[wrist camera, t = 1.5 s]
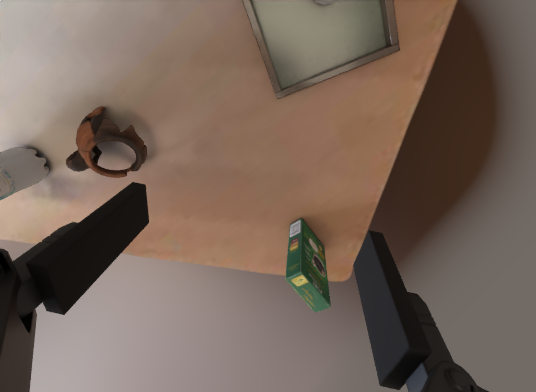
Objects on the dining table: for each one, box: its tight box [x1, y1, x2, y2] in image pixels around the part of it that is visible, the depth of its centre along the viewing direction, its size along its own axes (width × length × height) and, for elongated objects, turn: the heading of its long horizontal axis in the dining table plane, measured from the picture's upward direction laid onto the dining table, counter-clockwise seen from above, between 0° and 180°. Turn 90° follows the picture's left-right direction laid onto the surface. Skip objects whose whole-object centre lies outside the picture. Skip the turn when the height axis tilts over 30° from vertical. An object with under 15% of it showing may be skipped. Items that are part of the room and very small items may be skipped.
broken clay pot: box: [66, 107, 147, 178], centre depth 39 cm, size 12×10×8 cm
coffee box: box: [285, 218, 331, 312], centre depth 41 cm, size 8×3×13 cm, turn 36°
